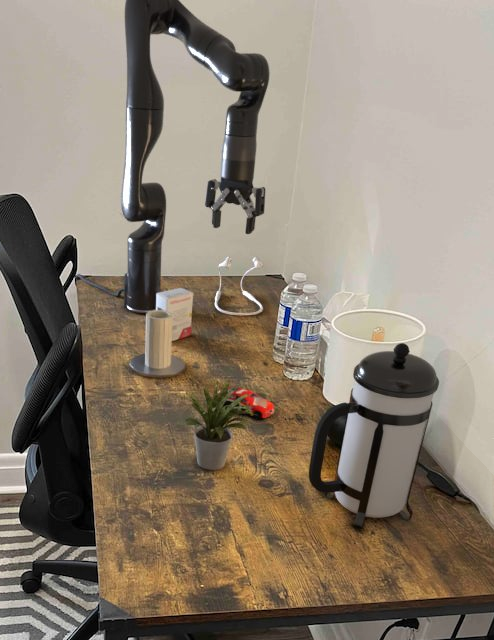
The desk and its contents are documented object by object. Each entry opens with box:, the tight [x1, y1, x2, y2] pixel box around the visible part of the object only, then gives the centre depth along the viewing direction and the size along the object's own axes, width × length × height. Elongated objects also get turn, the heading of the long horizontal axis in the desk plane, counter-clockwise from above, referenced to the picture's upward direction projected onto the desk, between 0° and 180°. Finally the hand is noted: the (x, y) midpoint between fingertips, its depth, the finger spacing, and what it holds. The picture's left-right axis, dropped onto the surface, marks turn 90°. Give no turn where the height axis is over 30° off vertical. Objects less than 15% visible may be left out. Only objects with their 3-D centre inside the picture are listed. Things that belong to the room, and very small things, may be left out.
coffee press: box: [308, 342, 440, 530], centre depth 118 cm, size 17×16×30 cm
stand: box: [129, 353, 186, 379], centre depth 171 cm, size 13×13×10 cm
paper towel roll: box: [144, 310, 173, 369], centre depth 170 cm, size 6×6×12 cm
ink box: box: [156, 287, 194, 342], centre depth 186 cm, size 9×5×12 cm, turn 129°
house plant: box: [176, 378, 256, 471], centre depth 132 cm, size 14×14×16 cm
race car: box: [217, 386, 275, 420], centre depth 155 cm, size 13×5×4 cm, turn 57°
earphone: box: [214, 256, 265, 316], centre depth 210 cm, size 14×17×18 cm
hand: (232, 230), depth 173 cm, fingers open, 8 cm apart
